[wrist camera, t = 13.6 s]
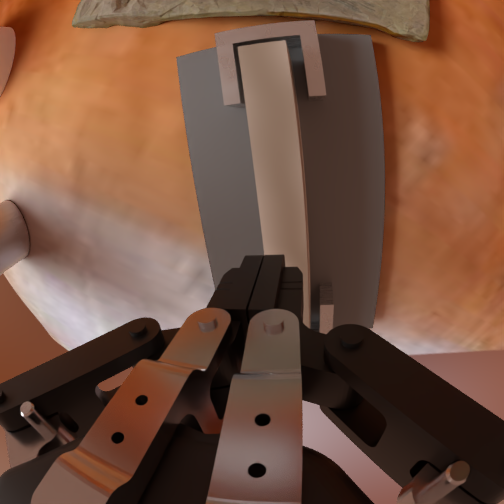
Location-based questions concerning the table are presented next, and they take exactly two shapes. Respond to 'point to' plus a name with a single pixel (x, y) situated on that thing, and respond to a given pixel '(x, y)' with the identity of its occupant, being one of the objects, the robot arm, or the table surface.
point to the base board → (315, 167)
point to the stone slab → (262, 13)
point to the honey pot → (6, 54)
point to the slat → (277, 155)
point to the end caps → (307, 39)
